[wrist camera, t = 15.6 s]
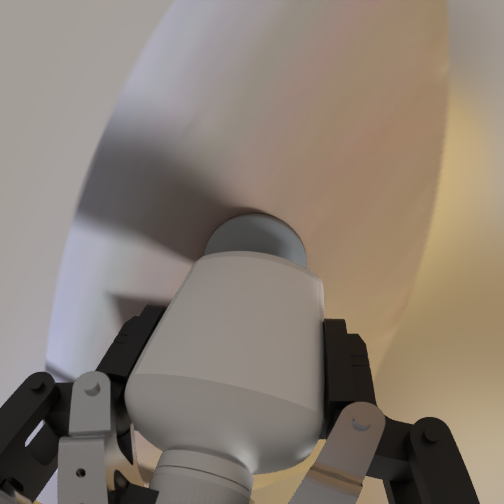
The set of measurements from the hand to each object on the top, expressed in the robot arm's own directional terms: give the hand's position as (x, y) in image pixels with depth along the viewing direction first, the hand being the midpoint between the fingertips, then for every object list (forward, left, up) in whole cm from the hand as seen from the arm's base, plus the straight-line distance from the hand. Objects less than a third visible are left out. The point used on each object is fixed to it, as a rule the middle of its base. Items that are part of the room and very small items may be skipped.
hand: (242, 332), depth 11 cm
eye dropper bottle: (0, 0, -3) cm, 3 cm away
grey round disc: (0, 0, -5) cm, 5 cm away
